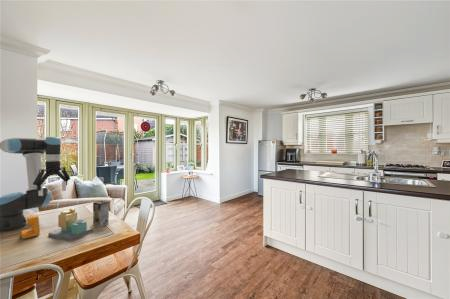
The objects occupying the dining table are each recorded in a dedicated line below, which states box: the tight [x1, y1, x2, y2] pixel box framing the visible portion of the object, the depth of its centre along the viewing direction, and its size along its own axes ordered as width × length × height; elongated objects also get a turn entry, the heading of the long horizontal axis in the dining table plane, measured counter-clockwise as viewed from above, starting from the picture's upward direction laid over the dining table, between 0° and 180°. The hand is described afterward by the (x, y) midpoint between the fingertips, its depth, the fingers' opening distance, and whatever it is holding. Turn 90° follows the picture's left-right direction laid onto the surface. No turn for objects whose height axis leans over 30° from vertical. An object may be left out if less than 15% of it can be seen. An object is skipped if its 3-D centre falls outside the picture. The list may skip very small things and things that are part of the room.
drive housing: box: [48, 217, 94, 242], centre depth 128 cm, size 20×14×12 cm
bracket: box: [21, 214, 41, 239], centre depth 125 cm, size 11×7×12 cm, turn 51°
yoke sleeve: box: [57, 208, 78, 228], centre depth 129 cm, size 7×7×10 cm
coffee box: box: [92, 200, 110, 227], centre depth 144 cm, size 9×6×16 cm
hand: (52, 193), depth 129 cm, fingers open, 13 cm apart
